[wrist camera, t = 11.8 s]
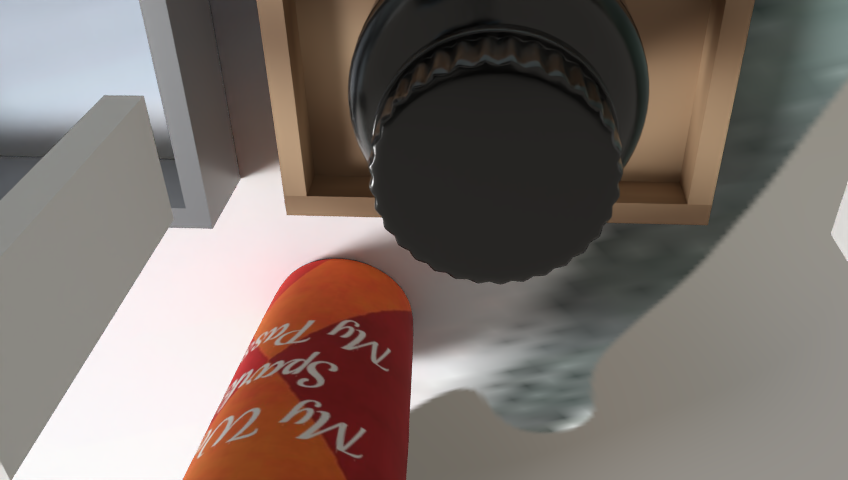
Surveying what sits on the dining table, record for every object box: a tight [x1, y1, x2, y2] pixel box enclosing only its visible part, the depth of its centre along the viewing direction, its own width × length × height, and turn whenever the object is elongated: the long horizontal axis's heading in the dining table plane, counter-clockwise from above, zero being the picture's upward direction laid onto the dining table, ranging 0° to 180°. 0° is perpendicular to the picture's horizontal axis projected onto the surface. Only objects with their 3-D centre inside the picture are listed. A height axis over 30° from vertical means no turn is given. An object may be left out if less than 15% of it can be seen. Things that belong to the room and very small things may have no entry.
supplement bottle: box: [348, 0, 649, 284], centre depth 20 cm, size 7×7×12 cm
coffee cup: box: [183, 259, 413, 480], centre depth 27 cm, size 8×8×15 cm
